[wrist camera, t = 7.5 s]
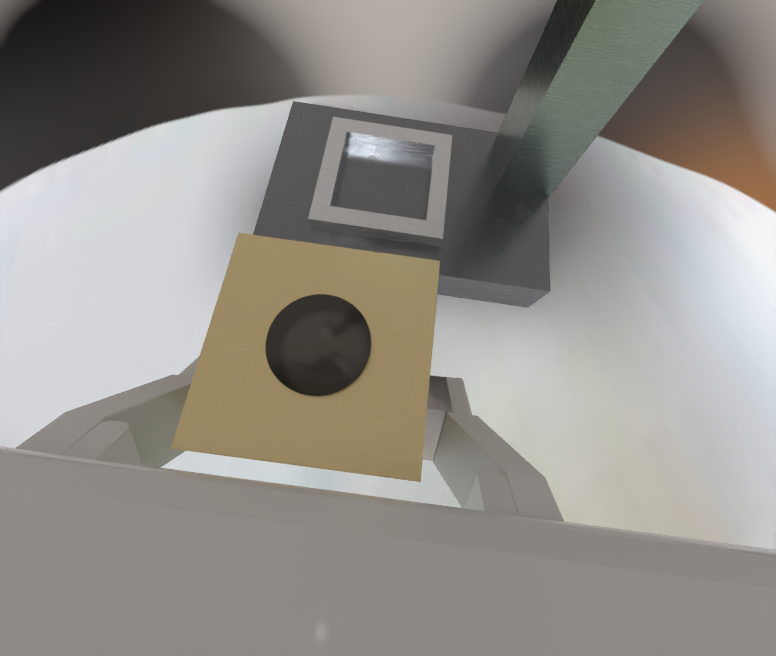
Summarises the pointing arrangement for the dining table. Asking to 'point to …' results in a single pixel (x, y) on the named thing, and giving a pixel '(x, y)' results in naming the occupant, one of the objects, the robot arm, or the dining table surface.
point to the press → (469, 159)
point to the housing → (316, 359)
